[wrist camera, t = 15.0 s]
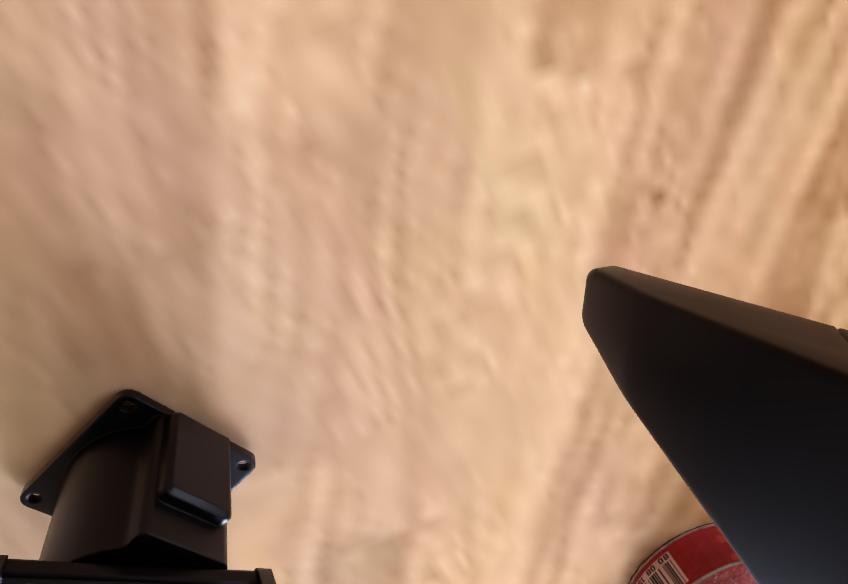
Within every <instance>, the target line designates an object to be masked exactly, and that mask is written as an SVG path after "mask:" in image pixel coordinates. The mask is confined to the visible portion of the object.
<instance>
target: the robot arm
mask: <svg viewBox="0 0 848 584" xmlns="http://www.w3.org/2000/svg"><path fill="white" fill-rule="evenodd" d="M582 318H583V323H584V326H585V328H586V330H587V332H588V333H589V335H590V337H591V339H592V341H593V342H594V344H595V346H596V348H597V349H598V351H599V353H600V355H601V357H602V358H603V360H604V362H605V364H606V366H607V367H608V369H609V371H610V373H611V374H612V376H613V378H614V380H615V382H616V383H617V385H618V387H619V388H620V390H621V392H622V393H623V395H624V397H625V398H626V400H627V401H628V403H629V404H630V406H631V407H632V409H633V410H634V412H635V413H636V414H637V416H638V417H639V419H640V420H641V421H642V423H643V424H644V426H645V427H646V428H647V430H648V431H649V432H650V434H651V435H652V437H653V438H654V439H655V441H656V442H657V444H658V445H659V446H660V448H661V449H662V451H663V452H664V453H665V455H666V456H667V458H668V459H669V460H670V462H671V463H672V465H673V466H674V467H675V469H676V470H677V472H678V473H679V474H680V476H681V477H682V479H683V480H684V481H685V483H686V484H687V486H688V487H689V488H690V490H691V491H692V493H693V494H694V495H695V497H696V498H697V500H698V501H699V502H700V504H701V505H702V507H703V508H704V509H705V511H706V512H707V514H708V515H709V516H710V518H711V519H712V521H713V522H714V523H715V525H716V526H717V528H718V529H719V530H720V532H721V533H722V535H723V536H724V537H725V539H726V540H727V542H728V543H729V544H730V546H731V547H732V549H733V550H734V551H735V553H736V554H737V556H738V557H739V558H740V560H741V561H742V563H743V564H744V565H745V567H746V568H747V570H748V571H749V572H750V574H751V575H752V577H753V578H754V579H755V581H756V582H757V584H848V330H845V329H838V330H837V329H836V328H835V327H834V326H830V325H827V324H823V323H820V322H816V321H812V320H809V319H805V318H802V317H798V316H794V315H791V314H787V313H783V312H780V311H776V310H773V309H769V308H765V307H762V306H758V305H755V304H751V303H747V302H744V301H740V300H736V299H733V298H729V297H726V296H722V295H718V294H715V293H711V292H708V291H704V290H700V289H697V288H693V287H690V286H686V285H682V284H679V283H675V282H671V281H668V280H664V279H661V278H657V277H653V276H650V275H646V274H643V273H639V272H635V271H632V270H628V269H625V268H621V267H617V266H608V267H602V268H596V269H593V270H592V271H590V272H589V274H588V276H587V280H586V288H585V295H584V303H583V310H582ZM125 401H130V402H133V403H134V404H133V405H125V404H123V402H125ZM241 462H247V463H245V464H239V463H241ZM254 468H255V456H254V454H252V453H251V452H250V451H248V450H246V449H244V448H242V447H240V446H238V445H237V444H235V443H233V442H231V441H229V439H228V438H227V437H225V436H223V435H221V434H219V433H217V432H216V431H214V430H212V429H210V428H208V427H206V426H204V425H203V424H201V423H199V422H197V421H195V420H193V419H191V418H190V417H188V416H186V415H184V414H182V413H178V412H175V411H173V410H171V409H169V408H168V407H166V406H164V405H162V404H160V403H158V402H156V401H154V400H153V399H151V398H149V397H147V396H145V395H143V394H141V393H140V392H138V391H135V390H128V389H126V390H123V391H120V392H119V393H117V394H116V395H115V396H114V397H113V398H112V399H111V400H110V401H109V402H108V403H107V404H106V405H105V406H104V407H103V408H102V409H101V410H100V411H99V412H98V413H97V414H96V415H95V416H94V417H93V418H92V419H91V420H90V421H89V422H88V423H87V424H86V425H85V426H84V427H83V428H82V429H81V430H80V431H79V432H78V433H77V434H76V435H75V436H74V437H73V438H72V439H71V440H70V441H69V442H68V443H67V444H66V445H65V446H64V447H63V448H62V449H61V450H60V451H59V452H58V453H57V454H56V455H55V456H54V457H53V458H52V459H51V460H50V461H49V462H48V463H47V464H46V465H45V466H44V467H43V468H42V469H41V470H40V471H39V473H38V474H37V475H36V476H35V477H34V478H33V479H32V480H31V481H30V482H29V483H28V484H27V485H26V486H25V487H24V489H23V491H22V494H21V496H20V501H21V502H22V504H24V505H25V506H27V507H30V508H32V509H35V510H38V511H40V512H43V513H46V514H48V515H51V516H52V519H51V522H50V525H49V529H48V532H47V535H46V539H45V542H44V546H43V549H42V552H41V556H40V559H39V560H21V559H8V555H0V584H276V582H275V579H274V576H273V573H272V570H271V569H264V568H256V569H255V570H254V571H245V570H227V521H228V520H229V519H231V491H232V490H233V489H234V488H235V487H236V486H237V485H238V484H239V483H240V482H241V481H242V480H243V479H244V478H245V477H247V476H248V475H249V474H250V473H251V472H252V471H253V470H254ZM33 494H40V495H38V496H37V495H33Z"/></svg>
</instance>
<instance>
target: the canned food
mask: <svg viewBox="0 0 848 584" xmlns="http://www.w3.org/2000/svg"><path fill="white" fill-rule="evenodd" d="M630 584H757V582H756V581H755V579H754V578H753V577H752V575H751V574H750V572H749V571H748V570H747V568H746V567H745V565H744V564H743V563H742V561H741V560H740V558H739V557H738V556H737V554H736V553H735V551H734V550H733V549H732V547H731V546H730V544H729V543H728V542H727V540H726V539H725V537H724V536H723V535H722V533H721V532H720V530H719V529H718V528H717V526H716V525H715V523H714V524H708V525H705V526H701V527H698V528H695V529H693V530H690V531H688V532H685V533H684V534H682V535H680V536H678V537H676V538H674V539H672V540H671V541H670V542H668V543H667V544H665V545H664V546H662V547H661V548H660V549H658V550H657V551H656V552H655V553H654V554H652V555H651V556H650V557H649V558H648V559H647V560H646V561H645V562H644V563H643V564H642V565H641V566H640V568H639V569H638V571H637V572H636V573H635V575H634V576H633V578H632V580H631V582H630Z"/></svg>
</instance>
